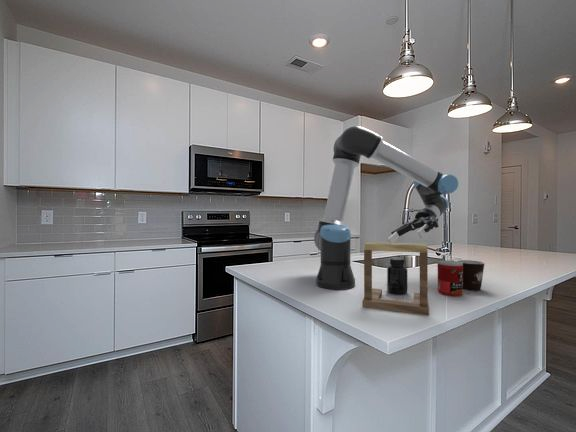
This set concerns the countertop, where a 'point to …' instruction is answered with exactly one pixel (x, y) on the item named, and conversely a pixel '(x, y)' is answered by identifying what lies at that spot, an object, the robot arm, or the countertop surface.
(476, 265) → the coffee mug
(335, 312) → the countertop surface
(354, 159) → the robot arm
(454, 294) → the canned food
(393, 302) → the notched shelf
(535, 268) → the countertop surface
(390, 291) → the supplement bottle
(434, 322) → the countertop surface
